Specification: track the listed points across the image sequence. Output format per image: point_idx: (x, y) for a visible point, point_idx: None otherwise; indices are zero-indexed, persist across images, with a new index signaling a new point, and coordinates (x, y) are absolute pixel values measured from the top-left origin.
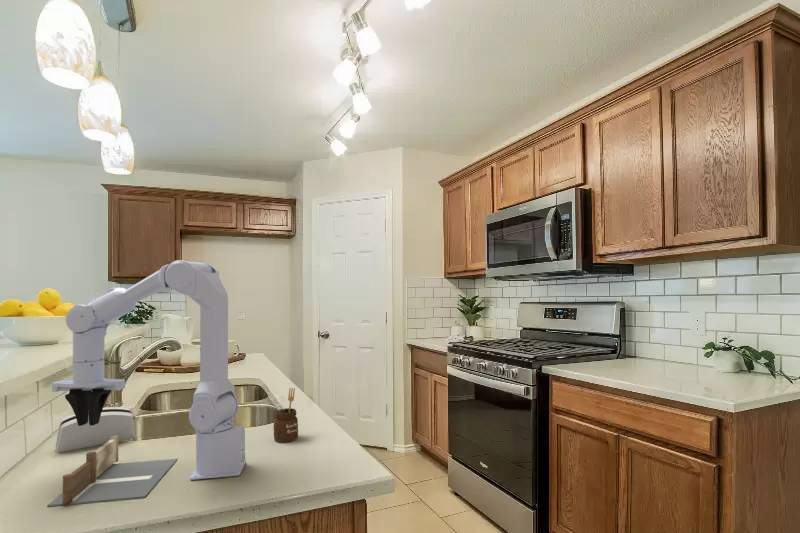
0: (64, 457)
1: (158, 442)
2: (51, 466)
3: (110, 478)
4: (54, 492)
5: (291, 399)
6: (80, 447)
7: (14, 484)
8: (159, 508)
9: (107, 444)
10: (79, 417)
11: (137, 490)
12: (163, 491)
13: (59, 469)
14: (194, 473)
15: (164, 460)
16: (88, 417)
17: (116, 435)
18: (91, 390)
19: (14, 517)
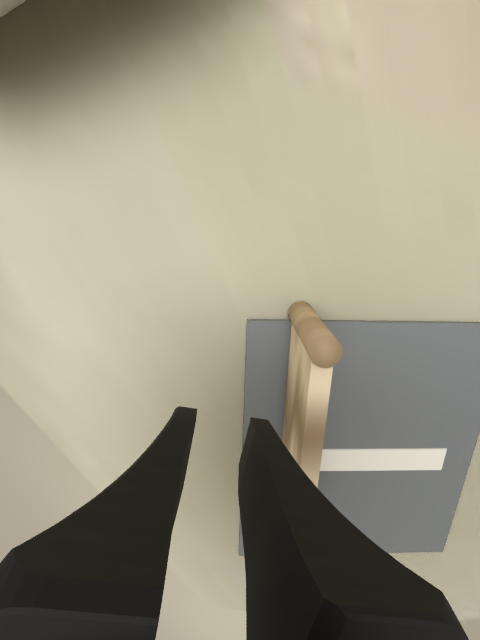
0: (36, 157)
1: (419, 26)
2: (57, 269)
3: (331, 442)
4: (209, 484)
5: None
6: (22, 2)
7: (47, 410)
8: (473, 590)
9: (320, 430)
10: (176, 513)
11: (421, 524)
12: (476, 526)
13: (112, 311)
14: None
15: (470, 331)
16: (195, 422)
17: (330, 338)
18: (160, 597)
19: (194, 579)
